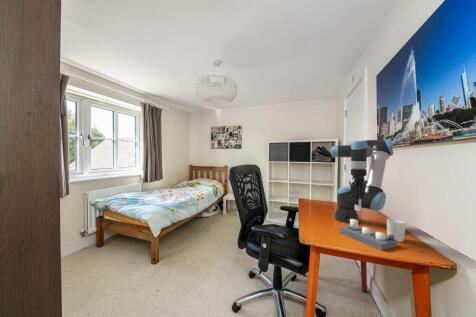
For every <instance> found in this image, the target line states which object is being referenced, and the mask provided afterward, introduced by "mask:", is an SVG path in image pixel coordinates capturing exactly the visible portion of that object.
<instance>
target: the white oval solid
mask: <svg viewBox="0 0 476 317" xmlns="http://www.w3.org/2000/svg"><path fill="white" fill-rule="evenodd" d="M361 228H362V234H364V235H367V236H370V235H371V231H372V228H370V227H368V226H362V227H361Z"/></svg>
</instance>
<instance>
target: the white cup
mask: <svg viewBox="0 0 476 317" xmlns="http://www.w3.org/2000/svg"><path fill="white" fill-rule="evenodd" d="M406 226H407V223H406V221H404V220H401V219H396V218H386V233H387V236H388V235H390V233H392V235H393V236H394V239H395V240H397V242H398V243H399V242H400V243H403V242H404V241H405V234H406Z"/></svg>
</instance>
